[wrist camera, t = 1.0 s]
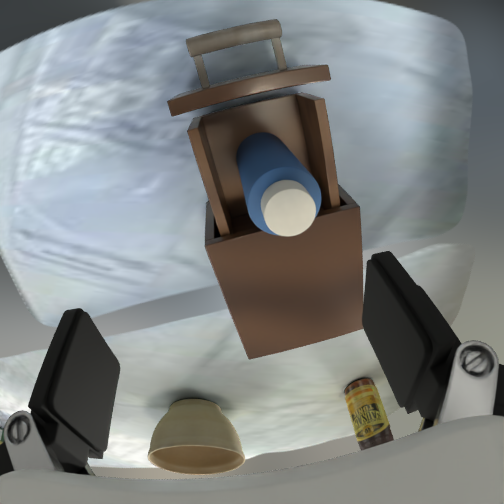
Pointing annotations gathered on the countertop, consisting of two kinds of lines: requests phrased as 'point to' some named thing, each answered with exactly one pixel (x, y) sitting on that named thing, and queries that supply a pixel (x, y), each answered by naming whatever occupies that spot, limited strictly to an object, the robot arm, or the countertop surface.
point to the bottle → (276, 186)
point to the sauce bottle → (367, 414)
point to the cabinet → (291, 280)
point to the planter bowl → (195, 440)
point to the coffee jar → (1, 435)
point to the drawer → (255, 122)
